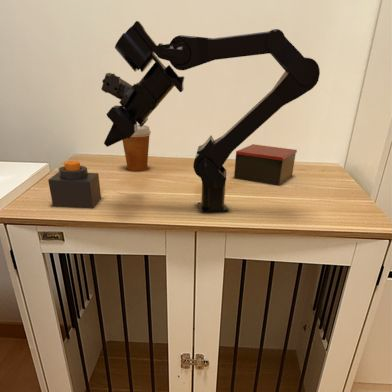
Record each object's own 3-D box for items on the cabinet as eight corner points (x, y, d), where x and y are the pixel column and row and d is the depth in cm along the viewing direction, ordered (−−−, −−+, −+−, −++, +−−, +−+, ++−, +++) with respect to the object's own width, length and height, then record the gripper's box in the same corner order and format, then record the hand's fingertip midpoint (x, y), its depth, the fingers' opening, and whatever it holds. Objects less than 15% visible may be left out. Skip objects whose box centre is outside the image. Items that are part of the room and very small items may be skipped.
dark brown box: (249, 169, 135) (251, 147, 131) (292, 176, 130) (295, 153, 126) (234, 178, 126) (235, 154, 122) (279, 185, 121) (282, 160, 117)
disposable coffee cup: (157, 170, 131) (156, 128, 124) (130, 173, 127) (127, 130, 120) (143, 163, 138) (141, 123, 130) (117, 167, 133) (114, 125, 126)
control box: (101, 198, 106) (97, 165, 102) (93, 208, 100) (88, 173, 95) (63, 196, 107) (57, 163, 102) (52, 206, 100) (46, 171, 96)
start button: (82, 168, 100) (81, 161, 99) (78, 172, 97) (77, 164, 96) (68, 168, 100) (66, 160, 99) (63, 171, 97) (62, 163, 96)
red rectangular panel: (252, 146, 132) (252, 144, 131) (296, 152, 126) (297, 149, 126) (235, 154, 122) (236, 151, 121) (282, 160, 117) (283, 157, 116)
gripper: (131, 56, 92) (89, 110, 99) (112, 58, 77) (64, 122, 84) (166, 98, 97) (123, 147, 104) (155, 108, 82) (106, 164, 89)
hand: (105, 144), depth 95 cm, fingers closed
